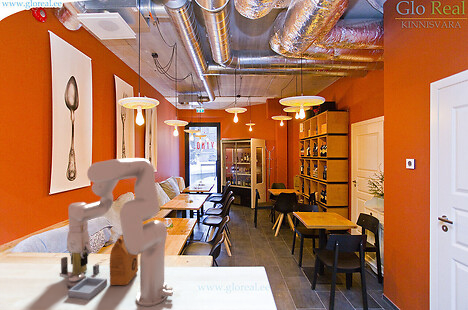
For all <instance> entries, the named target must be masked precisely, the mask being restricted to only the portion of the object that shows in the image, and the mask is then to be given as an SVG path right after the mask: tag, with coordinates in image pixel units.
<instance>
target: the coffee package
mask: <svg viewBox="0 0 468 310" xmlns="http://www.w3.org/2000/svg"><path fill="white" fill-rule="evenodd" d="M138 257H139V254H137V255H133V254H130V253H129V252H128V251H127V249H126V247H125V244H124V239H123V233H121V235H120V236H119V237H118V238H117V239H116V241H115V243H114V245H113V246H112V247H111V250H110V256H109V285H110V286H115V285H116V286H117V285H118V286H126V285H129V283H130V281H132V279H133V278H134V277H135V276H136V274H137V273H138V271H139V263H138V262H139V261H138V260H139V259H138Z"/></svg>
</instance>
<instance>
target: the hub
mask: <svg viewBox="0 0 468 310" xmlns="http://www.w3.org/2000/svg"><path fill="white" fill-rule="evenodd" d="M86 277H87V276H86V275H84V279H85V278H86ZM84 279H82V280H84ZM82 280H81V281H82ZM81 281H79V282H81ZM79 282H75V283H71V282H69V279H68V280H67V283H66V284H67V286H66V288H67V289H68V290H70V289H71V288H72V287H74V286H75V285H77V284H78V283H79Z"/></svg>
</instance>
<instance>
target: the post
mask: <svg viewBox="0 0 468 310" xmlns="http://www.w3.org/2000/svg"><path fill="white" fill-rule="evenodd" d="M99 273H100V264H98V263H97V264H96V263H95V264H94V265H93V266H92V274H93V275H98V274H99Z"/></svg>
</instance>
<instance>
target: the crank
mask: <svg viewBox="0 0 468 310" xmlns="http://www.w3.org/2000/svg"><path fill="white" fill-rule="evenodd" d="M68 262H69V261H68V256H64V257H62V258H60V269H61V270H60V272H59V277H60V278H64V279H68V280H69V282H71V283H75V282H79V281H81V280H82V279H84V276H85V272H84V273H72V271H68V270H69V269H68V267H69V266H68Z"/></svg>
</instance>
